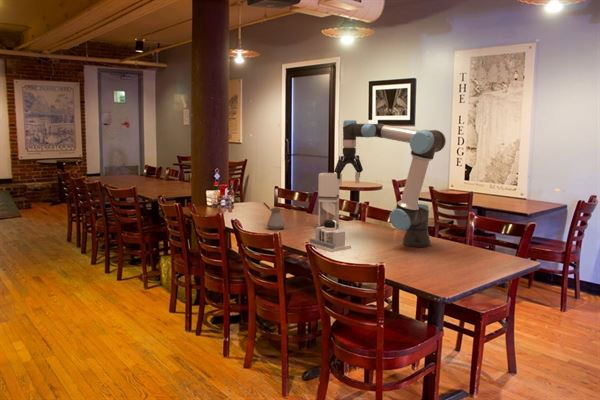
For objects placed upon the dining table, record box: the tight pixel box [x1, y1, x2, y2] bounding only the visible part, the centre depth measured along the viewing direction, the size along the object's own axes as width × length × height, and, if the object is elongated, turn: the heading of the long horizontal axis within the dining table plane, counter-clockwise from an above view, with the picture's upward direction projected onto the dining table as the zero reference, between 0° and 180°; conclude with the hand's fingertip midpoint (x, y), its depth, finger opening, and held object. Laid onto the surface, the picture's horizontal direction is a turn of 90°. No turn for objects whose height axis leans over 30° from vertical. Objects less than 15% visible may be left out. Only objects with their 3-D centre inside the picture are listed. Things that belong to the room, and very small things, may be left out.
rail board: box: [308, 226, 352, 253], centre depth 285 cm, size 19×14×10 cm
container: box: [321, 220, 339, 244], centre depth 285 cm, size 8×8×13 cm
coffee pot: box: [262, 202, 286, 231], centre depth 336 cm, size 21×12×15 cm, turn 34°
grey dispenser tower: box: [317, 172, 340, 230], centre depth 333 cm, size 11×11×35 cm
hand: (348, 184), depth 304 cm, fingers open, 13 cm apart
